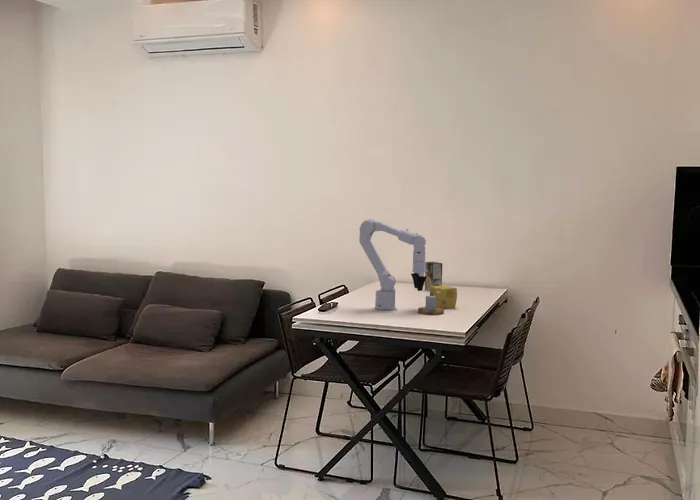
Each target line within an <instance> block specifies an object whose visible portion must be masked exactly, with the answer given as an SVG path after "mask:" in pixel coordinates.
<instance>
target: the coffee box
mask: <svg viewBox="0 0 700 500" xmlns="http://www.w3.org/2000/svg"><path fill="white" fill-rule="evenodd" d="M425 270H427V272H425V273H424V276H426V277H427V278H426V280H425V282H424V291H428V292H430V286H443V262H442V263H441V262H437V261H425Z"/></svg>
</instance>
